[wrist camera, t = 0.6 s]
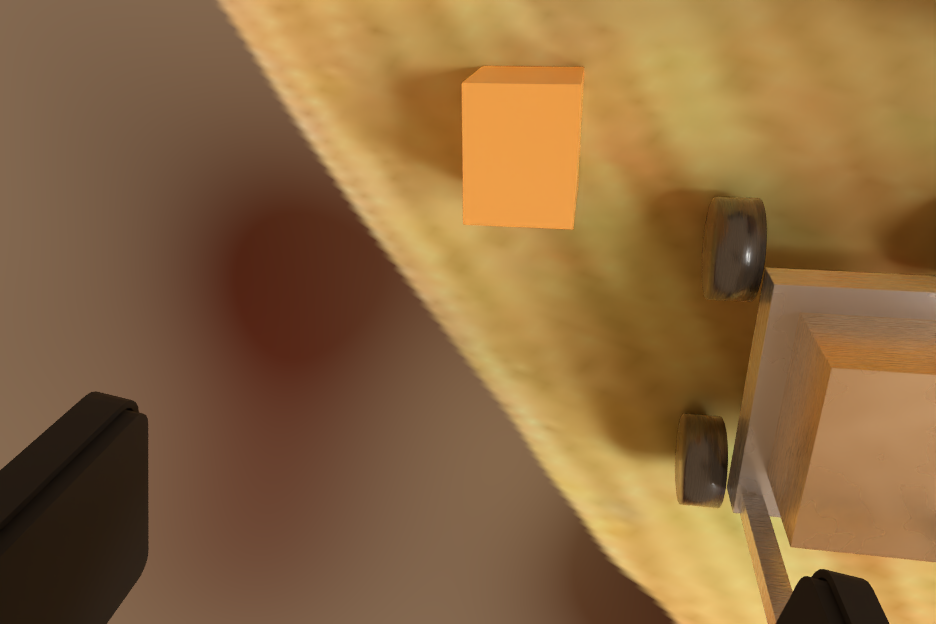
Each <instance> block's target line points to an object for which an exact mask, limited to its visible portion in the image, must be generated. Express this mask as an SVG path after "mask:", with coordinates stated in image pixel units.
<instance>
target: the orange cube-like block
mask: <svg viewBox="0 0 936 624" xmlns="http://www.w3.org/2000/svg"><path fill="white" fill-rule="evenodd" d="M583 84H584V67H542V66H482V67H481V68H480V69H478V70H477V71H476V72H475V73H473V74H472V75H471V76H470V77H468V78H467V79H466V80H465V81H463V82H462V162H463V225H483V226H506V227H529V228H552V229H573V228H574V219H575V210H576V201H577V192H578V175H579V157H580V138H581V120H582V102H583Z"/></svg>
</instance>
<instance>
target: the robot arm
mask: <svg viewBox="0 0 936 624" xmlns="http://www.w3.org/2000/svg"><path fill="white" fill-rule="evenodd" d="M147 557H148V419H147V417H146V415H144V414H142V413H139V411H138V406H137V404H136V402H134V401H132V400H129V399H125V398H121V397H117V396H112V395H108V394H104V393H100V392H91V393H89V394H88V395H86V396H85V397H84V398H82V399H81V400H80V401H79V402H78V403H77V404H76V405H74V406H73V407H72V408H71V409H70V410H69V411H68V412H67V413H65V414H64V415H63V416H62V417H61V418H60V419H58V420H57V421H56V422H55V423H54V424H53V425H52V426H50V427H49V428H48V429H47V430H46V431H45V432H44V433H42V435H40V436H39V437H38V438H37V439H36V440H34V441H33V442H32V443H31V444H30V445H29V446H28V447H26V448H25V449H24V450H23V451H22V452H21V453H20V454H19V455H17V456H16V457H15V458H14V459H13V460H12V461H10V462H9V463H8V464H7V465H6V466H5V467H4V468H3V469H1V470H0V624H107V622H108V621H109V619H110V618H111V617H112V615H113V614H114V613H115V611H116V610H117V608H118V607H119V606H120V604H121V603H122V601H123V600H124V599H125V597H126V596H127V594H128V593H129V592H130V590H131V589H132V587H133V586H134V584H135V583H136V582H137V580H138V579H139V577H140V576H141V573H142V572H143V570H144V567H145V564H146V561H147ZM776 624H889V622H888V620H887V618H886V616H885V613H884V611H883V609H882V607H881V605H880V603H879V601H878V599H877V597H876V595H875V593H874V590H873V588H872V587H871V585H870V584H869V582H867V581H866V580H864V579H862V578H858V577H854V576H849V575H845V574H841V573H837V572H833V571H829V570H825V569H820V570H818V571H816V572H815V573H814V574H813V576H812V577H808V576H804V577H803V578H801V579H800V580H799V582H798V583H797V585H796V587H795V589H794V591H793V593H792V594H791V596H790V598H789V600H788V602H787V603H786V605H785V607H784V609H783V611H782V613H781V614H780V616H779V618H778V620H777V622H776Z"/></svg>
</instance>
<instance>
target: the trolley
mask: <svg viewBox="0 0 936 624" xmlns="http://www.w3.org/2000/svg"><path fill="white" fill-rule="evenodd" d="M766 242H767V224H766V213H765V208H764V205H763V202H762V200H761V199H759V198H735V197H714V198H713V199H712V201H711V203H710V206H709V210H708V214H707V218H706V224H705V230H704V238H703V249H702V286H703V293H704V296H705V298H706V299H707V300H724V301H742V302H751V301H753V300H754V298H755V297H756V295H757V292H758V290H759V287H760V283H761V279H762V275H763V270H764V263H765V255H766ZM727 469H728V444H727V433H726V427H725V423H724V420H723V418H722V417H719V416H707V415H694V414H682V416H681V418H680V422H679V427H678V433H677V442H676V457H675V482H676V493H677V499H678V502H679V504H683V505H693V506H703V507H713V508H719V507H720V506H721V504H722V502H723V498H724V494H725V489H726V481H727ZM727 490H728V494H729V498H730V502H731V506H732V510H733V513H740V515H741V519H742V523H743V527H744V531H745V535H746V539H747V543H748V547H749V551H750V555H751V559H752V563H753V567H754V571H755V575H756V579H757V583H758V586H759V590H760V594H761V598H762V602H763V606H764V610H765V614H766V618H767V622H768V624H776V622H777V620H778V618H779V616H780V614H781V613H782V611H783V609H784V607H785V605H786V603H787V602H788V600H789V598H790V596H791V594H792V593H793V592H792V589H791V585H790V582H789V579H788V576H787V572H786V569H785V566H784V562H783V559H782V556H781V553H780V549H779V546H778V543H777V540H776V536H775V533H774V530H773V526H772V523H771V520H770V517H769V516H773V517H781V519H782V522H783V525H784V528H785V531H786V534H787V537H788V540H789V543H790V547H795V548H805V549H814V550H824V551H834V552H843V553H853V554H862V555H872V556H882V557H891V558H901V559H910V560H920V561H929V562H936V276H928V275H908V274H887V273H867V272H847V271H826V270H806V269H786V268H765V272H764V278H763V284H762V289H761V295H760V301H759V307H758V312H757V318H756V324H755V330H754V335H753V341H752V347H751V353H750V358H749V364H748V370H747V376H746V381H745V387H744V393H743V399H742V404H741V410H740V416H739V422H738V427H737V433H736V439H735V445H734V450H733V456H732V462H731V467H730V473H729V479H728V485H727Z"/></svg>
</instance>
